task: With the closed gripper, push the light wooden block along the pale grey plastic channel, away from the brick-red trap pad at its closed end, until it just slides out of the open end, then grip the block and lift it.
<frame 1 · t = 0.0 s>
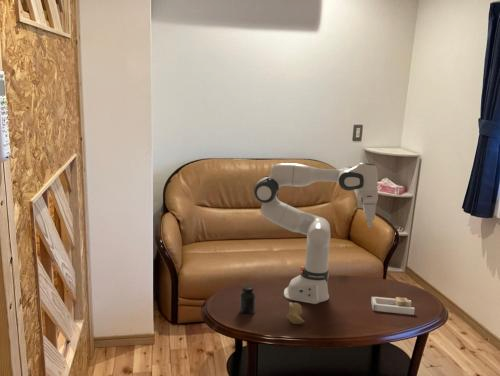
hand: (368, 224, 218), 39 cm above the table, tool pointing down, fingers open, 8 cm apart
supplement bottle: (247, 312, 209), on the table
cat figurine: (295, 320, 203), on the table
block: (401, 309, 218), resting in channel
channel: (392, 308, 219), on the table
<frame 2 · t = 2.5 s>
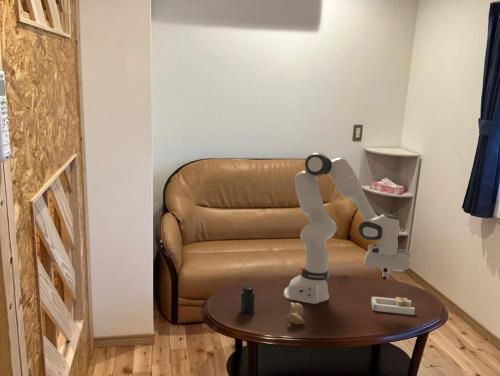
hand: (385, 276, 216), 16 cm above the table, tool pointing down, fingers closed
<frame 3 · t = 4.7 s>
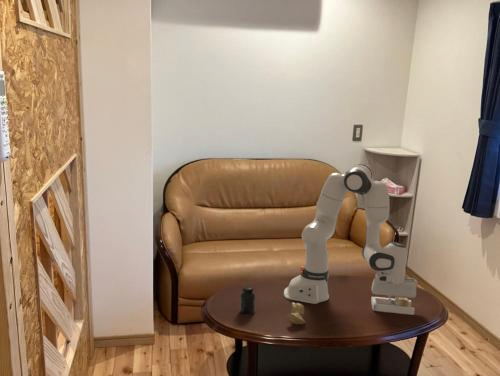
hand: (392, 303, 218), 2 cm above the table, tool pointing down, fingers closed
block: (401, 309, 218), resting in channel, touching gripper
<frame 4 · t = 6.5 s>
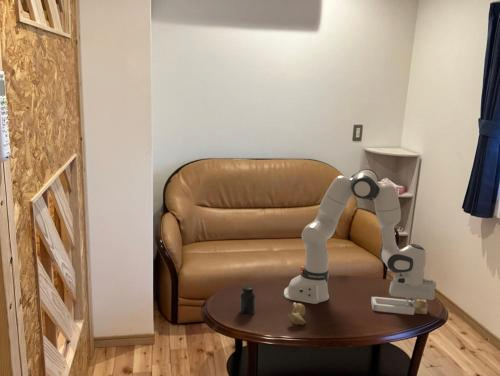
hand: (410, 306, 217), 2 cm above the table, tool pointing down, fingers closed
block: (419, 311, 217), on the table, touching gripper
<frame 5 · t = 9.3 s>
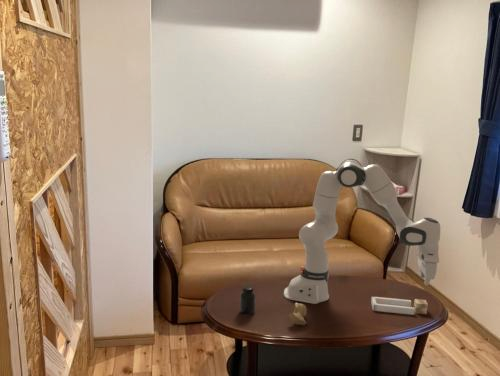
hand: (424, 281, 214), 15 cm above the table, tool pointing down, fingers open, 8 cm apart
block: (419, 311, 217), on the table
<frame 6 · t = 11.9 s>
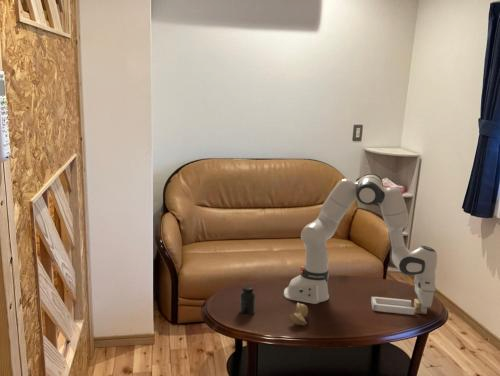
hand: (421, 308, 217), 2 cm above the table, tool pointing down, fingers closed on block, 5 cm apart
block: (419, 311, 217), on the table, touching gripper
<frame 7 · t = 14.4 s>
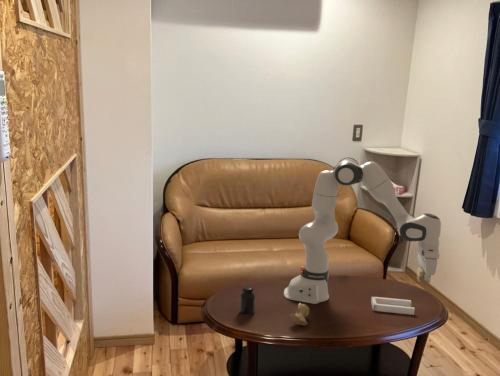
hand: (424, 277, 214), 17 cm above the table, tool pointing down, fingers closed on block, 5 cm apart
block: (423, 280, 214), point 15 cm above the table, touching gripper
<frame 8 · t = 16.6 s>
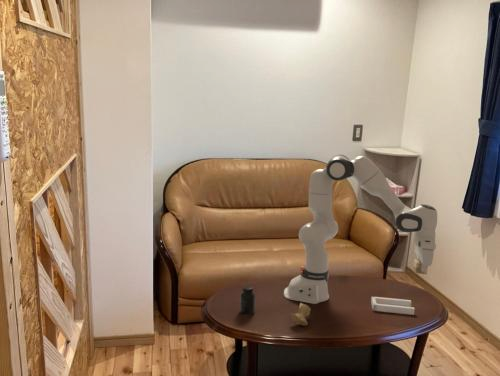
hand: (421, 268, 213), 21 cm above the table, tool pointing down, fingers closed on block, 5 cm apart
block: (419, 271, 214), point 19 cm above the table, touching gripper
at the end: the gripper is holding block; block point 19.5 cm above the table; block touching gripper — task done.
